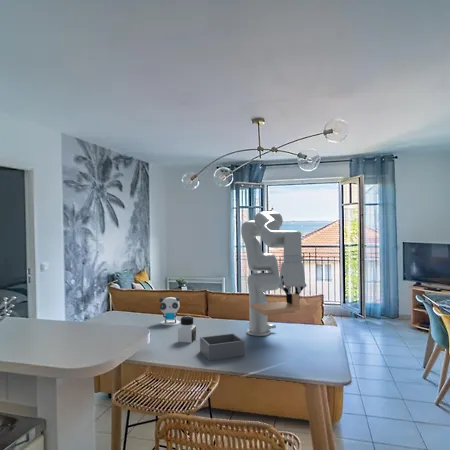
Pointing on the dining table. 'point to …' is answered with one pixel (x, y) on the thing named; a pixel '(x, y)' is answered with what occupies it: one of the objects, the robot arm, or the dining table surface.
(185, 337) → the medicine bottle
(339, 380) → the dining table surface
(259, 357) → the dining table surface
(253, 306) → the lid
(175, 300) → the panda figurine
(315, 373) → the dining table surface
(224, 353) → the grey tray
